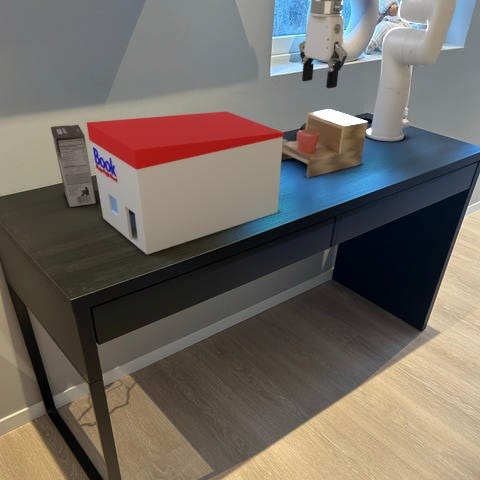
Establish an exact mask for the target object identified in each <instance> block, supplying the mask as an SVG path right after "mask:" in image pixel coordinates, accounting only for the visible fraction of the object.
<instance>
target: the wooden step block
mask: <svg viewBox="0 0 480 480" xmlns="http://www.w3.org/2000/svg"><path fill="white" fill-rule="evenodd" d="M305 123H306V128H305V130H314V131H317V132H319V142H318V143H317V144H316V151H315V152H312V153H304V152H301V151H299V150H297V148H298V142H297V141H296V140H295V141H293V142H290V141H289V142H290V143H285V144H283V143H282V156H281V161H284V160H290V159H293V158H294V159H295V160H298V161H300V162H303V164H306V165H307V167H306V178H312V177H316V176H320V175H324V174H329V173H332V172H336V171H340V170H344V169H348V168H352V167H356V166H359V165H362V159H363V154H364V147H365V141H366V137H367V136H366V130H367V129H368V125H369V121H368V120H364V119H362V118H358V117H356V116H352V115H349V114H347V113H344V112H340V111H337V110H334V109H331V108H327V109H323V110H317V111H311V112H307V113H306V119H305Z"/></svg>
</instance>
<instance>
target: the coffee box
mask: <svg viewBox="0 0 480 480" xmlns="http://www.w3.org/2000/svg"><path fill="white" fill-rule="evenodd" d="M50 131H51V134H52V140H53V144H54V149H55V154H56V159H57V163H58V167H59V172H60V177H61V181H62V186H63V190H64V192H65V193H64V194H65V197H66V200H67V203H68V206H69V207H71V208H72V207H79V206H86V205H87V206H88V205H93V204H96V203H97V201H96V195H95V190H94V189H95V188H94V183H93V177H92V171H91V170H92V169H91V164H90V158H89V153H88V146H87V141H86V135H85V133H84V132H83V130H82V128H81V127H80V125H79V124H73V125H55V126H50Z"/></svg>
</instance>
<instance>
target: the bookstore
mask: <svg viewBox="0 0 480 480" xmlns="http://www.w3.org/2000/svg"><path fill="white" fill-rule="evenodd" d="M86 129H87V134H88V140H89V141H90V148H91V153H92V154H91V155H92V160H93V165H94V166H93V167H94V171H95V177H96V184H97V189H98V195H99V201H100V208H101V212H102V218H103V220H105V221H106V222H107V223H109V224H110V226H112V227H113V228H114V229H115V230H117V231H118V232H119V233H120V234H121V235H123V236H124V237H125V238H126V239H127V240H129V241H130V242H131V243H132V244H133V245H135V246H136V247H137V248H138V249H139V250H141V251H142V252H143V253H144V254H145V255H150V254H153V253H156V252H159V251H162V250H165V249H169V248H171V247H174V246H178V245H182V244H185V243H187V242H190V241H193V240H197V239H200V238H203V237H205V236H208V235H212V234H215V233H218V232H222V231H224V230H227V229H231V228H234V227H236V226H240V225H243V224H246V223H249V222H252V221H255V220H258V219H261V218H264V217H267V216H270V215H273V214H277V213H278V212H279V197H280V183H281V168H282V160H281V156H282V141H283V139H284V132H283V131H281V130H280V131H278V130H279V129H278V130H277V129H275V128H272V127H269V126H268V125H264V124H262V123H259V122H256V121H253V120H251V119H248V118H245V117H243V116H240V115H238V114H235V113H232V112H229V111H214V112H201V113H189V114H188V113H187V114H176V115H164V116H150V117H137V118H136V117H135V118H126V119H112V120H111V119H110V120H99V121H88V122H86Z"/></svg>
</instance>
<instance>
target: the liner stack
mask: <svg viewBox="0 0 480 480" xmlns="http://www.w3.org/2000/svg"><path fill="white" fill-rule="evenodd" d="M295 141H297V142H298V148H297V150H299V151H301V152H304V153H312V152H315V151H316V144H317V143H318V142H319V132H317V131H314V130H300V129H299V130H298V131H296V140H295Z"/></svg>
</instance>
